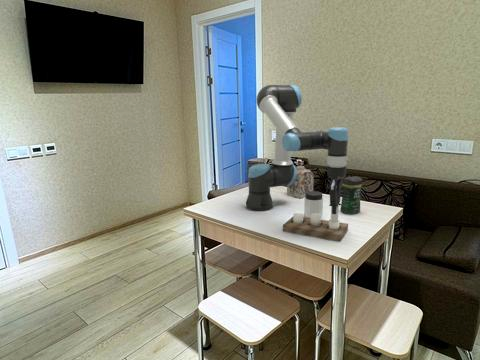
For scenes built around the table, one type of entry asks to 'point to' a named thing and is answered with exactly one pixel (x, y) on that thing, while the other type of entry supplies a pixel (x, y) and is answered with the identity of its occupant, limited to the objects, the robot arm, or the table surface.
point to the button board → (316, 229)
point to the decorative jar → (301, 183)
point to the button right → (334, 225)
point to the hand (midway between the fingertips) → (334, 220)
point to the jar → (313, 203)
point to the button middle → (315, 219)
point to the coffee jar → (351, 195)
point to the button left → (298, 218)
